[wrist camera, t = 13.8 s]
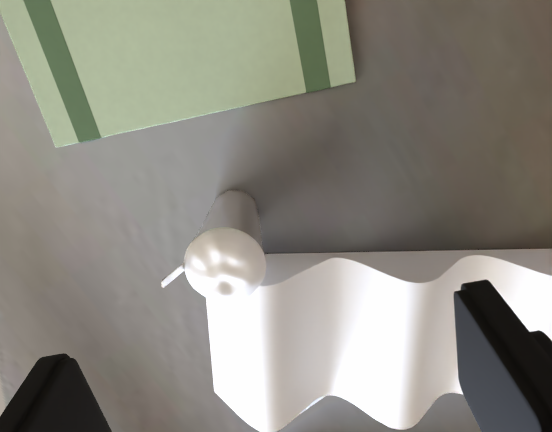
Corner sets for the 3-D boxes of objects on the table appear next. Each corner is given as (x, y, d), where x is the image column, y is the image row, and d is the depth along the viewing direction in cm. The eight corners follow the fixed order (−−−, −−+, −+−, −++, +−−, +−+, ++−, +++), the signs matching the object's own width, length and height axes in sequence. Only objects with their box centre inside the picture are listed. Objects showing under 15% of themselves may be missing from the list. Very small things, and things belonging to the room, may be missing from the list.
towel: (-24, -57, 26) (-30, -59, 26) (323, -146, 25) (324, -150, 24) (59, 145, 31) (55, 148, 30) (354, 80, 29) (356, 82, 29)
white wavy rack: (202, 255, 34) (191, 293, 30) (670, 246, 34) (733, 282, 30) (214, 390, 39) (206, 441, 35) (620, 382, 40) (668, 431, 35)
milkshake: (190, 179, 32) (157, 244, 23) (267, 180, 32) (266, 246, 23) (193, 238, 34) (164, 320, 25) (266, 239, 34) (265, 321, 25)
